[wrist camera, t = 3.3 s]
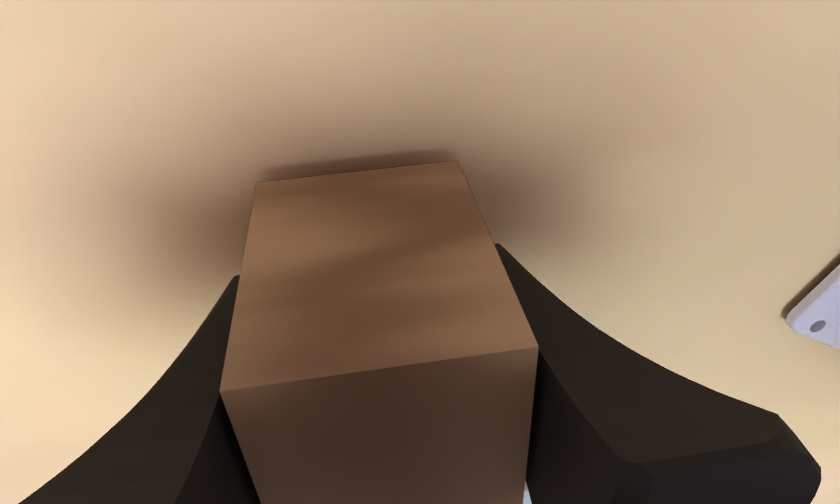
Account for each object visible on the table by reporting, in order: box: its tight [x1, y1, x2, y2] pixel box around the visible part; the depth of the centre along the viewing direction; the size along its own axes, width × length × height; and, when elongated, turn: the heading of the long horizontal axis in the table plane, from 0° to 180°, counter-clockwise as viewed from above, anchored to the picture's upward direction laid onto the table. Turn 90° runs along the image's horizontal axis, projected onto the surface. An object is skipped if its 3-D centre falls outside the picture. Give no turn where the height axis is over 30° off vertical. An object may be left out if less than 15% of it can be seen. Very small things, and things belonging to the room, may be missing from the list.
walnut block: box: [219, 161, 539, 504], centre depth 12 cm, size 4×4×6 cm
